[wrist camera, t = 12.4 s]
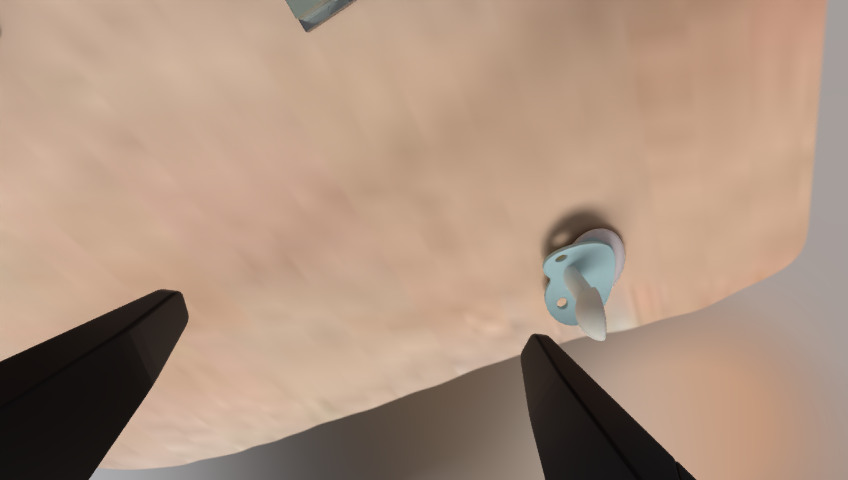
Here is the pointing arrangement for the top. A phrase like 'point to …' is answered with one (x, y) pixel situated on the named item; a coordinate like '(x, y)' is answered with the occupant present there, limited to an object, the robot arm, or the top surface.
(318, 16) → the green square tray
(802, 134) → the top surface
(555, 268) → the pacifier
